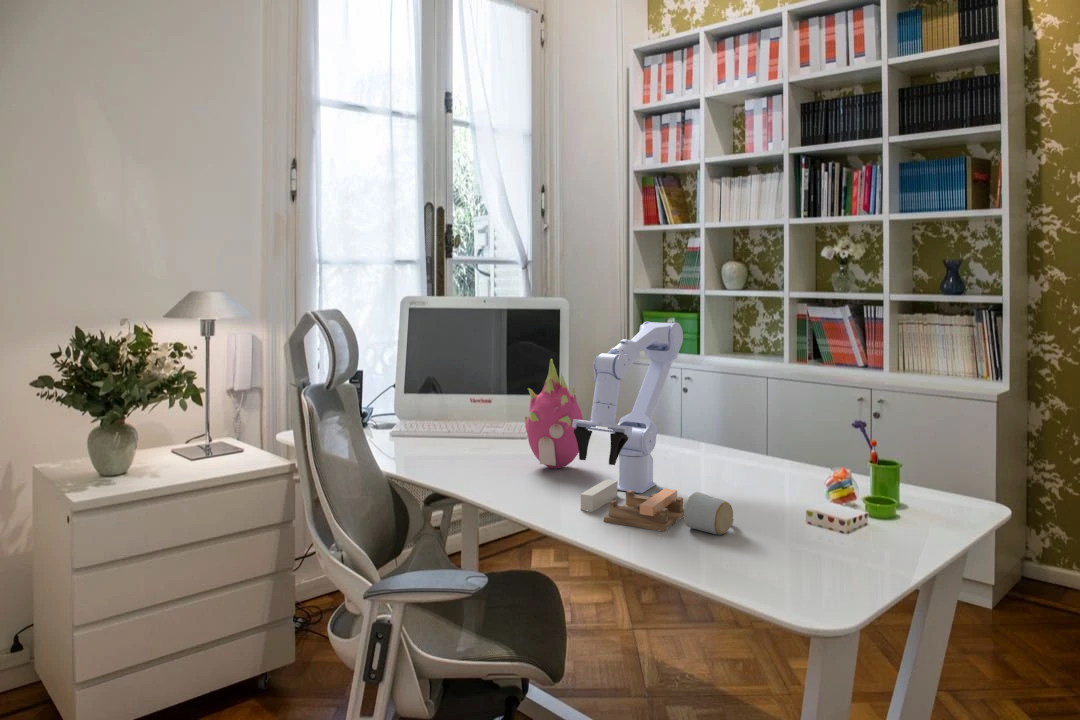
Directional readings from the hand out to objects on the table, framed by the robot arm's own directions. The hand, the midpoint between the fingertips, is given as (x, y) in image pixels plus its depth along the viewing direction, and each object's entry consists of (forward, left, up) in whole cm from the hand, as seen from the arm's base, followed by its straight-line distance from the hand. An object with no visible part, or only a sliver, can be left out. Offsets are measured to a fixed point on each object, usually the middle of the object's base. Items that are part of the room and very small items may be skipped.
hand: (596, 462), depth 188 cm
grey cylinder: (+4, +29, -10) cm, 31 cm away
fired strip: (+3, +17, -7) cm, 19 cm away
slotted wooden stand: (+3, +14, -10) cm, 17 cm away
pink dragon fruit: (-25, -25, -10) cm, 37 cm away
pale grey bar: (-2, 0, -10) cm, 10 cm away
